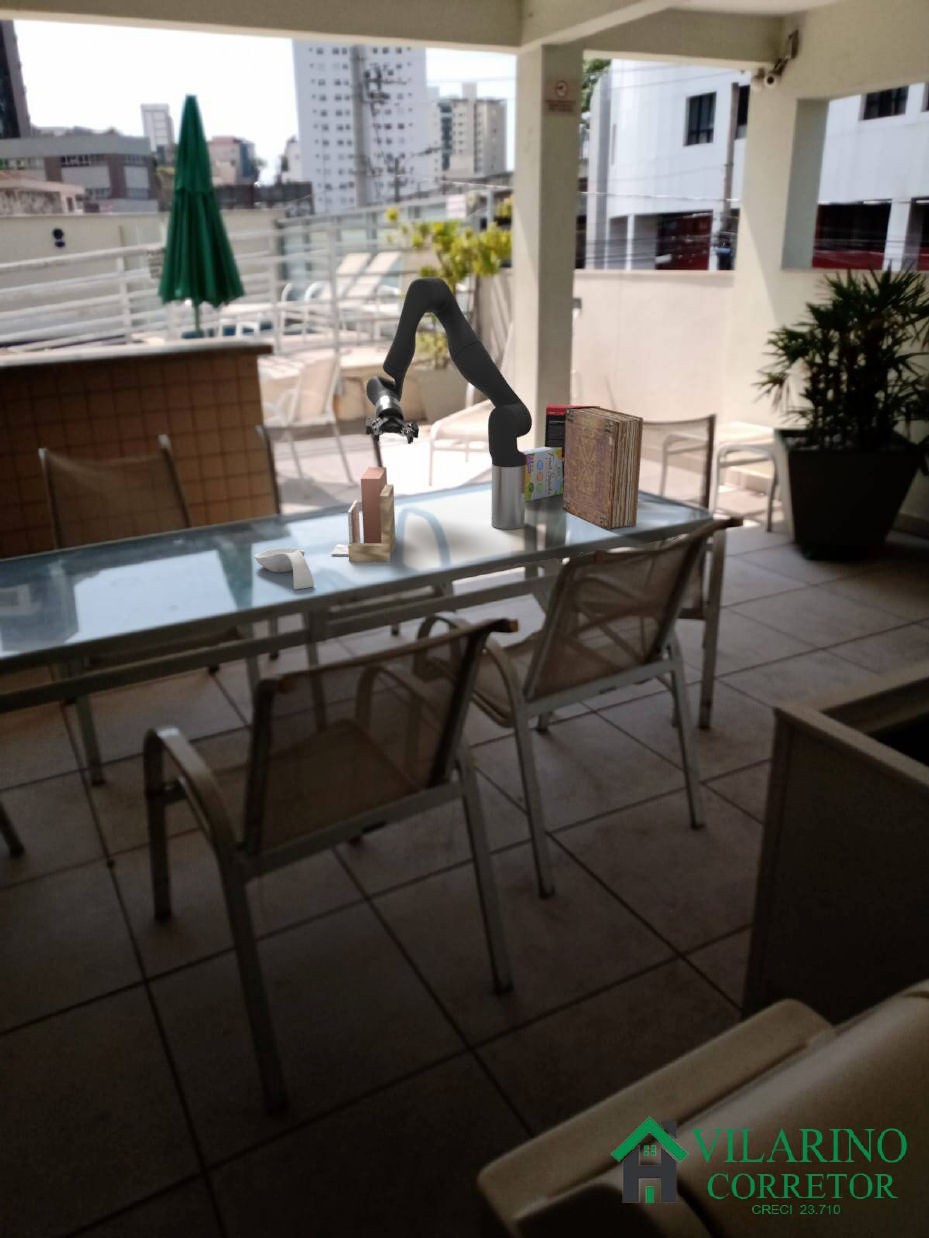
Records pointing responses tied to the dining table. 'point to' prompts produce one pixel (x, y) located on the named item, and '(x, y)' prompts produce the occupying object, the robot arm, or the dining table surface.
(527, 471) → the snack box
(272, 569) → the spoon rest
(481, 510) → the dining table surface
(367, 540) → the book
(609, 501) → the book
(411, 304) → the robot arm
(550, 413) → the graphics card box
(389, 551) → the board
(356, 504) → the bookend
